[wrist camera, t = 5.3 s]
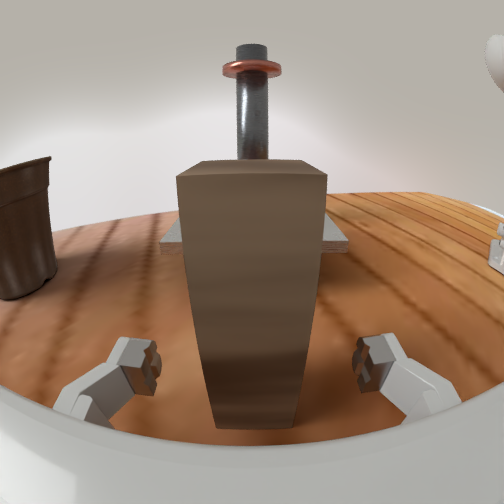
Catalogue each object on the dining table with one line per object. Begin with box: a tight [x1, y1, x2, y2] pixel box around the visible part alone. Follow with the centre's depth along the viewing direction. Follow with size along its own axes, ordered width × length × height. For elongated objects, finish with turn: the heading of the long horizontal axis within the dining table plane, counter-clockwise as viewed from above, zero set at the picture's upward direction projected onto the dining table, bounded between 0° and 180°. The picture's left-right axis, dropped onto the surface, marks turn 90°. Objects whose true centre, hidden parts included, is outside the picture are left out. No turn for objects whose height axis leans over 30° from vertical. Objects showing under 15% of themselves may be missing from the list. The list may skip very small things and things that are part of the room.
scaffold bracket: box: [159, 44, 349, 254], centre depth 32 cm, size 26×17×30 cm, turn 0°
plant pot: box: [0, 156, 57, 300], centre depth 25 cm, size 16×16×16 cm
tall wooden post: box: [176, 159, 327, 429], centre depth 13 cm, size 4×4×14 cm
